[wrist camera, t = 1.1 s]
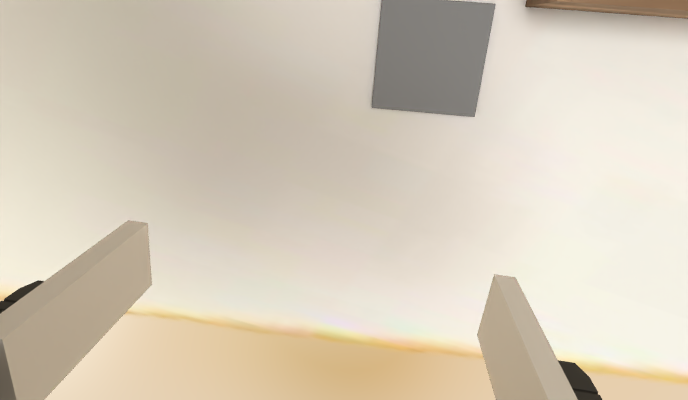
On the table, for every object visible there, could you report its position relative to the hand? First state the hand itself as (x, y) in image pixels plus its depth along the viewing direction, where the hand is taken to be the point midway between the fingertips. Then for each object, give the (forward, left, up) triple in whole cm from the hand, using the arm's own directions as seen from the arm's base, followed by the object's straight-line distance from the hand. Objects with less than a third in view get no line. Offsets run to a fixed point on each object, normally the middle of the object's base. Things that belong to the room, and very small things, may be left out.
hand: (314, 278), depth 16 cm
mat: (-7, +5, -25) cm, 27 cm away
